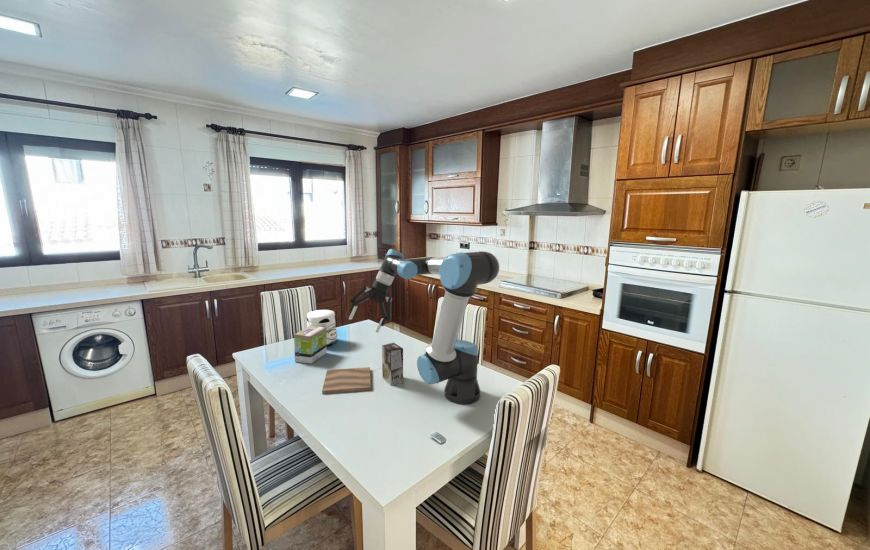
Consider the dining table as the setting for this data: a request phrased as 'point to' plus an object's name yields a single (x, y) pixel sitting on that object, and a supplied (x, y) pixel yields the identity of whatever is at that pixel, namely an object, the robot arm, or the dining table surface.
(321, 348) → the tea box
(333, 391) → the tan board
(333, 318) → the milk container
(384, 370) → the coffee box
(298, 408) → the dining table surface
